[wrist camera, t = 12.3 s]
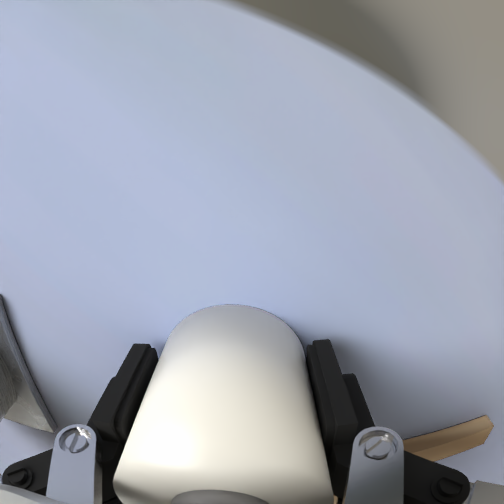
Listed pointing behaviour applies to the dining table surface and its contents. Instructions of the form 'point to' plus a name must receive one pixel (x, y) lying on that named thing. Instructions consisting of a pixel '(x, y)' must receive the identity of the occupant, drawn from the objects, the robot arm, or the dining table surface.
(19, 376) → the metal knob on plate
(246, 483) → the white rounded block
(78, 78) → the dining table surface
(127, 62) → the dining table surface
